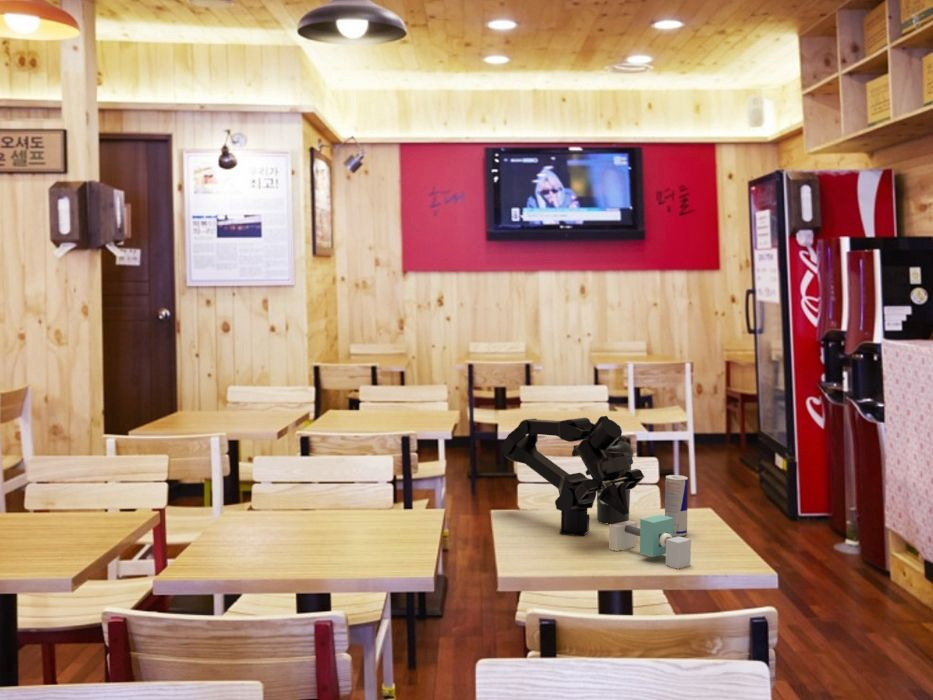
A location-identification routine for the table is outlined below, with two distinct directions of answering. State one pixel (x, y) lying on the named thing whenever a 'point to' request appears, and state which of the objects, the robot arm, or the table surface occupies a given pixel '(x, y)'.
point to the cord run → (676, 547)
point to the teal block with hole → (654, 534)
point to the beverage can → (677, 502)
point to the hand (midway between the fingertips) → (626, 514)
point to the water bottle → (619, 447)
